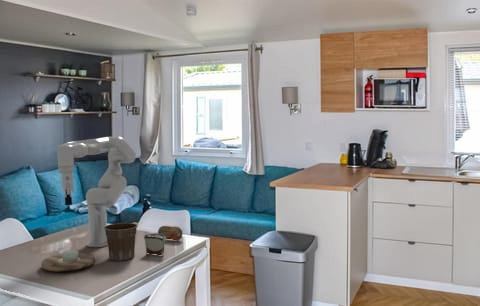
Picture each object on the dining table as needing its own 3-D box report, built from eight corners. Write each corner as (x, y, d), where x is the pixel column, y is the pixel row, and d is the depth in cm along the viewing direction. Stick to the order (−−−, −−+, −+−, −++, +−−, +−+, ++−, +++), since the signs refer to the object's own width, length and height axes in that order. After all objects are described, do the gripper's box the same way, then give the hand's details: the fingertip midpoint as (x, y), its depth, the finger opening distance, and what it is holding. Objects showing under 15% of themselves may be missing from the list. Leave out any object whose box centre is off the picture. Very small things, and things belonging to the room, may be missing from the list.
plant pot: (103, 255, 235) (102, 224, 234) (134, 251, 242) (134, 221, 241) (107, 264, 221) (106, 231, 219) (141, 260, 227) (140, 227, 226)
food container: (171, 253, 238) (170, 234, 237) (164, 256, 232) (163, 237, 231) (151, 250, 243) (150, 232, 242) (144, 254, 237) (143, 234, 236)
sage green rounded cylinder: (72, 257, 222) (71, 249, 222) (81, 259, 219) (81, 251, 218) (59, 261, 217) (59, 252, 216) (68, 263, 213) (68, 255, 212)
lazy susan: (71, 252, 235) (71, 244, 234) (106, 259, 223) (105, 250, 223) (30, 266, 214) (29, 256, 213) (66, 274, 202) (65, 264, 202)
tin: (157, 239, 265) (157, 225, 264) (160, 238, 268) (160, 224, 267) (180, 242, 259) (180, 227, 258) (183, 241, 262) (183, 226, 261)
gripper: (75, 170, 226) (77, 207, 228) (73, 166, 240) (75, 201, 242) (59, 171, 223) (61, 208, 225) (57, 167, 237) (60, 202, 239)
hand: (68, 204), depth 234 cm, fingers closed
